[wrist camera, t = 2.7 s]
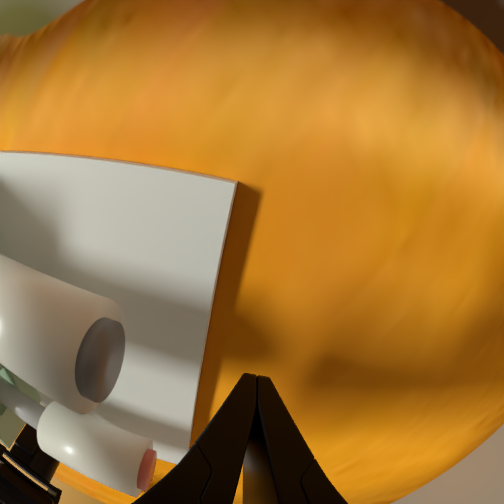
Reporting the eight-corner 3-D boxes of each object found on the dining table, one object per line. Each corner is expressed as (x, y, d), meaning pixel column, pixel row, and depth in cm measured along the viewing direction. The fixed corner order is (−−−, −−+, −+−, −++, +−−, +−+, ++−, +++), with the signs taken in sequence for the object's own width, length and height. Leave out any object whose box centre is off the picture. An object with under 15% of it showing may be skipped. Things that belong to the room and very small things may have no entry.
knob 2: (17, 385, 12) (-8, 417, 9) (0, 348, 11) (-31, 381, 7) (160, 456, 13) (145, 505, 9) (158, 430, 11) (137, 489, 8)
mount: (187, 458, 16) (170, 531, 9) (13, 377, 15) (-22, 421, 9) (237, 181, 9) (156, 254, 2) (-30, 150, 8) (-108, 172, 2)
